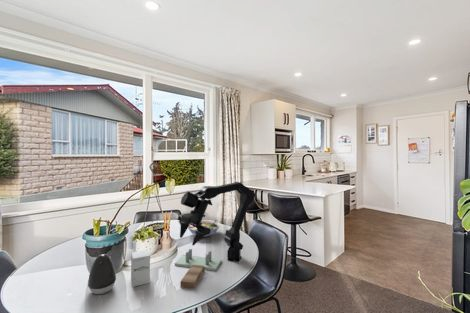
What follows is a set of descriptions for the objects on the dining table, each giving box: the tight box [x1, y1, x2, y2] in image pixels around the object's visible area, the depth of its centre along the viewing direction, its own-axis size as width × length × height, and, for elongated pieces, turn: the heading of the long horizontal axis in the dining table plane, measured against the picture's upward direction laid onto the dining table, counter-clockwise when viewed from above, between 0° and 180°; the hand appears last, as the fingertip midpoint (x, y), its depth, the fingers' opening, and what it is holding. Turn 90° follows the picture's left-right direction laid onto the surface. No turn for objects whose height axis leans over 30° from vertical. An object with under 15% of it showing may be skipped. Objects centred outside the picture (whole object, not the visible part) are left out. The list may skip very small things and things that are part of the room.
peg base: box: [174, 248, 222, 272], centre depth 122 cm, size 22×10×6 cm, turn 77°
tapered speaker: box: [87, 253, 117, 295], centre depth 98 cm, size 10×10×15 cm
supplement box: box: [130, 249, 151, 288], centre depth 105 cm, size 7×7×13 cm
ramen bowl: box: [187, 219, 221, 238], centre depth 163 cm, size 25×23×8 cm
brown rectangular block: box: [180, 265, 205, 290], centre depth 108 cm, size 15×6×3 cm, turn 170°
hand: (186, 241), depth 114 cm, fingers open, 9 cm apart
